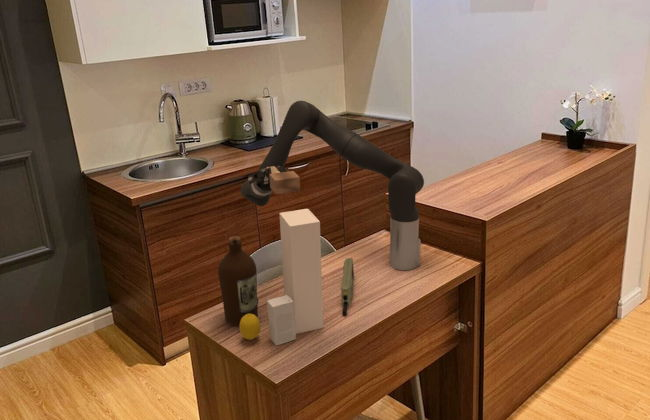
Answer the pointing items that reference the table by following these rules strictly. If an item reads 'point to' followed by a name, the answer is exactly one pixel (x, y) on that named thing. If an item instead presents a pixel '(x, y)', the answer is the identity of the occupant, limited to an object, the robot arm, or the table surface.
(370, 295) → the table surface
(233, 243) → the olive oil
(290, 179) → the mallet
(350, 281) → the handheld radio
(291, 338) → the skincare box
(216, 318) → the table surface
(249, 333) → the lemon
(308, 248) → the stand
